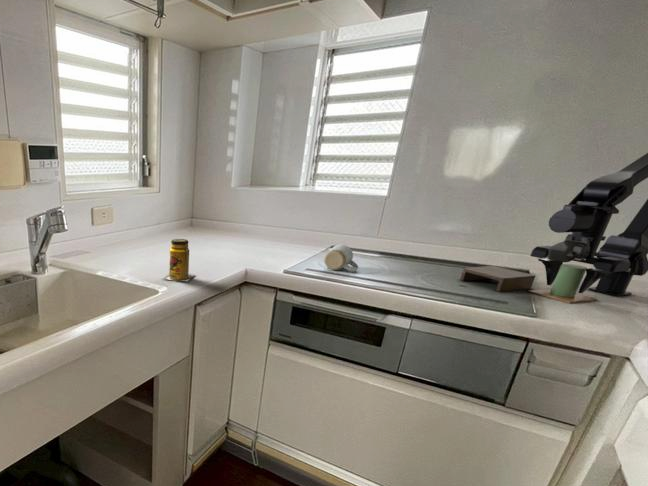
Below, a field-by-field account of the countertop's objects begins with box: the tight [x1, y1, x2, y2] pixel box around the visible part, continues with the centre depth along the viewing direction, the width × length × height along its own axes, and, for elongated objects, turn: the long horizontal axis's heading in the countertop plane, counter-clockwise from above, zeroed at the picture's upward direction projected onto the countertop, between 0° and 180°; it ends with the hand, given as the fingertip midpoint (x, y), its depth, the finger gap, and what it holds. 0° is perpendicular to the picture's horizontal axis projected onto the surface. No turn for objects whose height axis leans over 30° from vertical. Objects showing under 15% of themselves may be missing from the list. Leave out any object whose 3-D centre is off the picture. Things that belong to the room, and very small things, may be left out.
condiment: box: [165, 238, 195, 282], centre depth 125 cm, size 7×8×12 cm
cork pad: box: [527, 287, 598, 304], centre depth 111 cm, size 10×10×1 cm
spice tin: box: [550, 263, 588, 297], centre depth 109 cm, size 5×5×8 cm
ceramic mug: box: [323, 244, 360, 273], centre depth 136 cm, size 11×8×8 cm
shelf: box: [459, 265, 536, 293], centre depth 120 cm, size 12×12×4 cm
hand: (564, 288), depth 110 cm, fingers open, 7 cm apart
